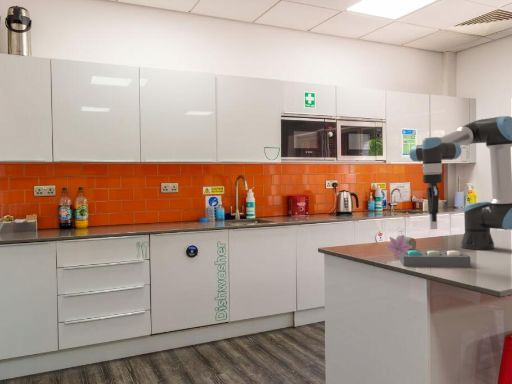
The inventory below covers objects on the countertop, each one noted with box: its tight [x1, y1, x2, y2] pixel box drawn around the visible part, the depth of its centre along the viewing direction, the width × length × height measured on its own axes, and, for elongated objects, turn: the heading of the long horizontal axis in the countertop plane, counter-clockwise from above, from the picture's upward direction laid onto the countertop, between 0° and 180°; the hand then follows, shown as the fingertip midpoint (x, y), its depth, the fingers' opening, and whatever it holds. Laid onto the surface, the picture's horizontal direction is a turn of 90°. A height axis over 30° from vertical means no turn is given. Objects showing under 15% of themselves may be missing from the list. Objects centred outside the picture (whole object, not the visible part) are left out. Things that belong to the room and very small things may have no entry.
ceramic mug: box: [395, 234, 417, 251], centre depth 220 cm, size 11×8×8 cm
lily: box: [384, 234, 412, 259], centre depth 204 cm, size 12×12×10 cm
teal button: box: [408, 250, 421, 255], centre depth 187 cm, size 5×5×4 cm
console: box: [399, 251, 471, 268], centre depth 186 cm, size 26×12×4 cm, turn 79°
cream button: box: [446, 250, 461, 256], centre depth 184 cm, size 5×5×4 cm
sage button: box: [426, 250, 441, 255], centre depth 186 cm, size 5×5×4 cm
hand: (433, 228), depth 187 cm, fingers closed
